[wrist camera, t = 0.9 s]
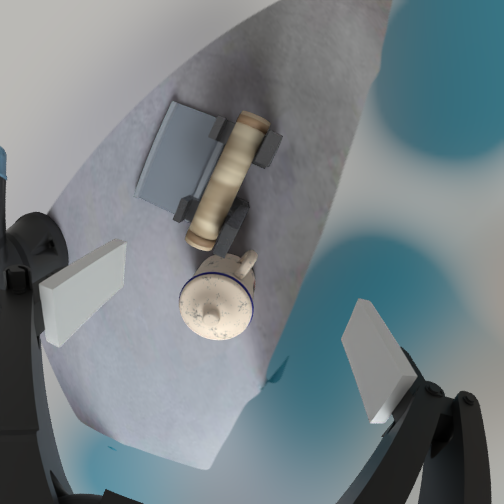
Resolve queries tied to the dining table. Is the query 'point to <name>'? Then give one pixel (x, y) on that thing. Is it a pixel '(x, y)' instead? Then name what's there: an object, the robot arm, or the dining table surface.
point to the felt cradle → (179, 158)
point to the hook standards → (239, 206)
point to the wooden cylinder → (226, 180)
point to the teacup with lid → (220, 296)
